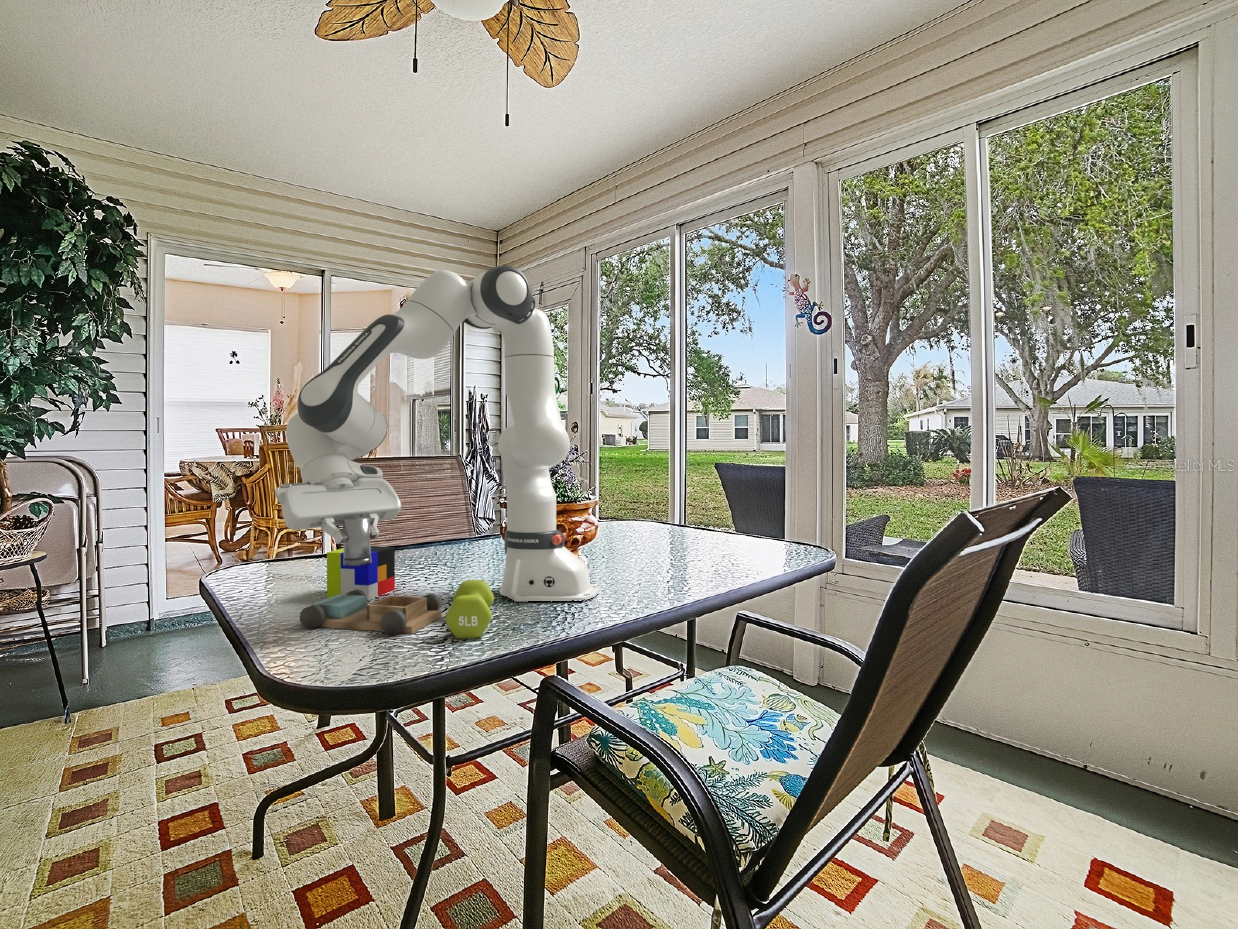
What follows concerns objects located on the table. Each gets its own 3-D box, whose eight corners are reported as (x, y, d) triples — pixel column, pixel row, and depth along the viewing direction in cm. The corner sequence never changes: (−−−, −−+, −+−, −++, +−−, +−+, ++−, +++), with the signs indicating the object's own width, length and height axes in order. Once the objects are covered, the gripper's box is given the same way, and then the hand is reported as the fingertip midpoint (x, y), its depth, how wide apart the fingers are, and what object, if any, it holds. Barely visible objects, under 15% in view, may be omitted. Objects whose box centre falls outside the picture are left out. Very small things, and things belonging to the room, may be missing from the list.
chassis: (445, 614, 121) (445, 594, 121) (407, 636, 107) (407, 613, 107) (344, 608, 125) (344, 588, 125) (294, 628, 111) (294, 606, 111)
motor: (376, 561, 111) (375, 517, 111) (361, 566, 107) (360, 520, 106) (353, 560, 112) (352, 516, 112) (337, 565, 108) (336, 519, 107)
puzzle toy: (368, 601, 132) (368, 554, 131) (326, 598, 134) (326, 552, 133) (394, 590, 141) (394, 547, 141) (355, 588, 143) (355, 545, 143)
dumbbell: (491, 639, 106) (491, 597, 106) (443, 641, 105) (443, 599, 104) (495, 614, 122) (495, 578, 122) (453, 615, 121) (453, 579, 121)
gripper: (276, 472, 105) (302, 534, 99) (388, 467, 121) (417, 521, 115) (267, 497, 109) (291, 559, 102) (377, 489, 124) (404, 542, 118)
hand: (358, 539), depth 109 cm, fingers closed on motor, 4 cm apart
